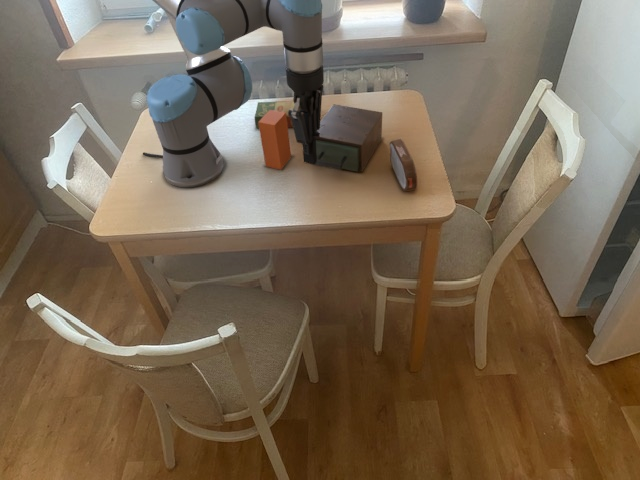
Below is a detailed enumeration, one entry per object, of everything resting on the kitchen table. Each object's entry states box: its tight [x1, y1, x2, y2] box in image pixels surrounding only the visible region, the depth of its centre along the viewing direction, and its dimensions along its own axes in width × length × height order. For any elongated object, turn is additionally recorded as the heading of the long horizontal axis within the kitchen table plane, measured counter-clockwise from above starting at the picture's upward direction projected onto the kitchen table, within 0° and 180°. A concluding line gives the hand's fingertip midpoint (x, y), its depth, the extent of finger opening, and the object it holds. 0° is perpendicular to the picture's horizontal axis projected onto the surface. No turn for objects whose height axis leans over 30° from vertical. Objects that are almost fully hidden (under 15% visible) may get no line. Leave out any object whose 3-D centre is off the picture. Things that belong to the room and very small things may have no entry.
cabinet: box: [315, 104, 383, 173], centre depth 122 cm, size 16×14×8 cm
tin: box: [389, 138, 418, 192], centre depth 112 cm, size 15×3×8 cm, turn 9°
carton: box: [254, 100, 295, 130], centre depth 136 cm, size 8×16×4 cm, turn 89°
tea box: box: [258, 110, 292, 171], centre depth 119 cm, size 6×4×13 cm
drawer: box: [313, 139, 359, 173], centre depth 119 cm, size 19×12×6 cm, turn 156°
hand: (310, 161), depth 111 cm, fingers closed
